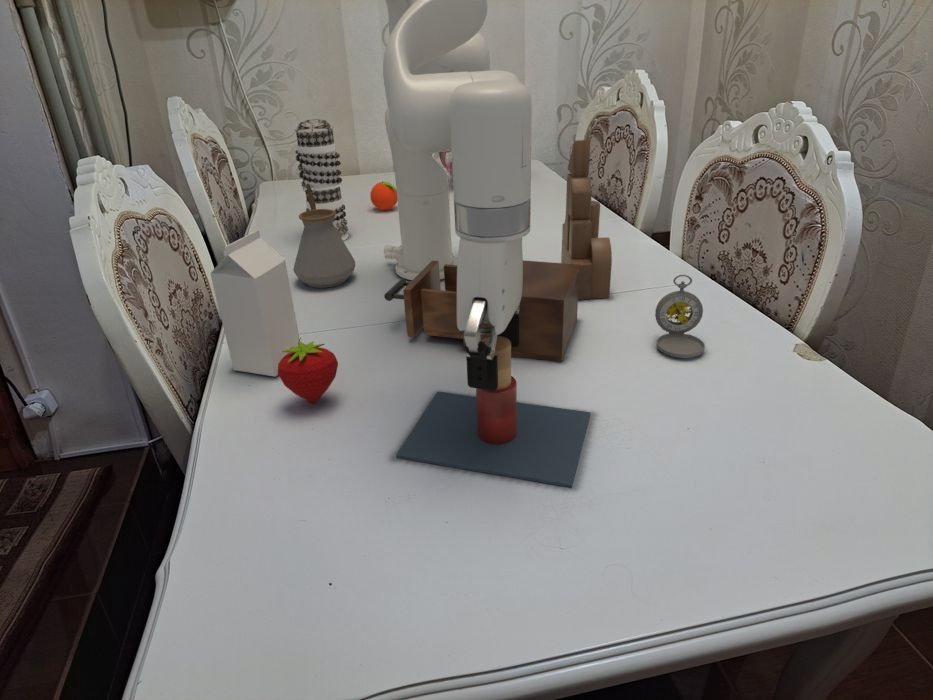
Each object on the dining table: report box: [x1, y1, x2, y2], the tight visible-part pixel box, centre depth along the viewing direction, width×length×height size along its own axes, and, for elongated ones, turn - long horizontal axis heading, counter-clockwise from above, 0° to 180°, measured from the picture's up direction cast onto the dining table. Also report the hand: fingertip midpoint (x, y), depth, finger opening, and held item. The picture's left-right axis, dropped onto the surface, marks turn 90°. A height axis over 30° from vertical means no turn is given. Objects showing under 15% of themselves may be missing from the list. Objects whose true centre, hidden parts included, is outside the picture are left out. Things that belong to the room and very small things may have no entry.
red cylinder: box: [475, 336, 518, 444], centre depth 73 cm, size 5×5×12 cm
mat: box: [395, 391, 591, 488], centre depth 76 cm, size 20×14×1 cm
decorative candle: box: [294, 118, 349, 241], centre depth 139 cm, size 9×9×25 cm
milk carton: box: [210, 229, 301, 378], centre depth 90 cm, size 7×7×19 cm
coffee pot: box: [292, 184, 356, 289], centre depth 123 cm, size 21×12×15 cm, turn 17°
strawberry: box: [277, 337, 339, 404], centre depth 82 cm, size 6×8×10 cm
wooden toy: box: [560, 139, 613, 301], centre depth 110 cm, size 16×7×25 cm, turn 1°
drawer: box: [383, 261, 463, 340], centre depth 100 cm, size 18×12×8 cm
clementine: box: [369, 181, 398, 211], centre depth 161 cm, size 8×7×7 cm
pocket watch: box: [654, 274, 706, 359], centre depth 92 cm, size 8×8×10 cm
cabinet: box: [462, 259, 580, 363], centre depth 97 cm, size 15×14×10 cm
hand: (495, 365), depth 72 cm, fingers open, 9 cm apart
